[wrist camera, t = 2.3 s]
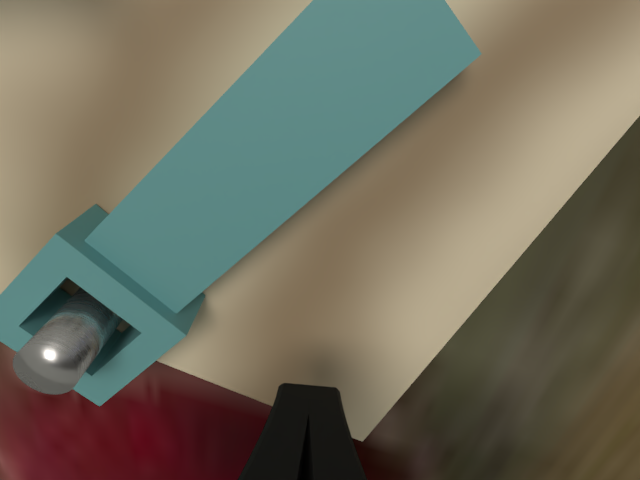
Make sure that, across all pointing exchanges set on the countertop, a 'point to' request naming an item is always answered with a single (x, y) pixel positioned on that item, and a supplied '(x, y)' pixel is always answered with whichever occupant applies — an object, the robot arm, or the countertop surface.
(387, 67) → the link
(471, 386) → the countertop surface
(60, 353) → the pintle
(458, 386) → the countertop surface
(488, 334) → the countertop surface
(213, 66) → the base board
